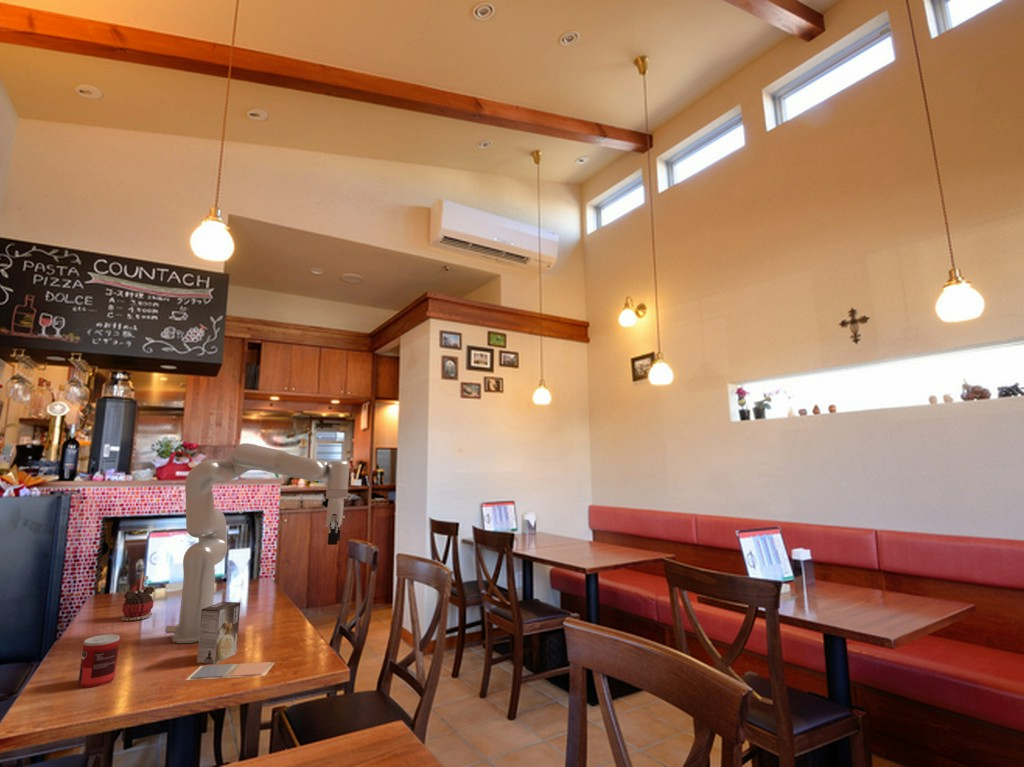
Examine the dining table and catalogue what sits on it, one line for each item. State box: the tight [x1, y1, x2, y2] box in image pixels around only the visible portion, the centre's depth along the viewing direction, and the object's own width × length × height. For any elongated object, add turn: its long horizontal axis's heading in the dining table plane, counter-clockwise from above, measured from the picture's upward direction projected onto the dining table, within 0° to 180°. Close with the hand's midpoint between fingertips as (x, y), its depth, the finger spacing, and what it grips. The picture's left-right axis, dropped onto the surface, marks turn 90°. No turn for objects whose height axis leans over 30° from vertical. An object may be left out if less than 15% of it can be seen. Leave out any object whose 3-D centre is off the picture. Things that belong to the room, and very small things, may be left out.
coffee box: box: [196, 601, 241, 665], centre depth 156 cm, size 9×6×16 cm
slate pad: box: [190, 663, 235, 680], centre depth 144 cm, size 8×9×1 cm
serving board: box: [185, 661, 276, 681], centre depth 145 cm, size 20×10×1 cm, turn 100°
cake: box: [120, 568, 155, 621], centre depth 200 cm, size 11×9×18 cm
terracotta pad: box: [230, 661, 271, 678], centre depth 146 cm, size 8×9×1 cm
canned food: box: [78, 633, 121, 688], centre depth 140 cm, size 8×8×11 cm
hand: (333, 542), depth 188 cm, fingers open, 9 cm apart
